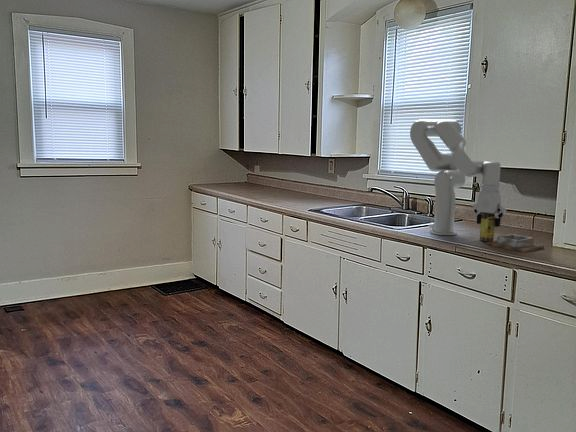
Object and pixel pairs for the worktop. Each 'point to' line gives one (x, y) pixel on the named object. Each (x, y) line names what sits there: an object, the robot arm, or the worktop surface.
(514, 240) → the condiment board
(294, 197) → the worktop surface
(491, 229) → the sauce bottle
